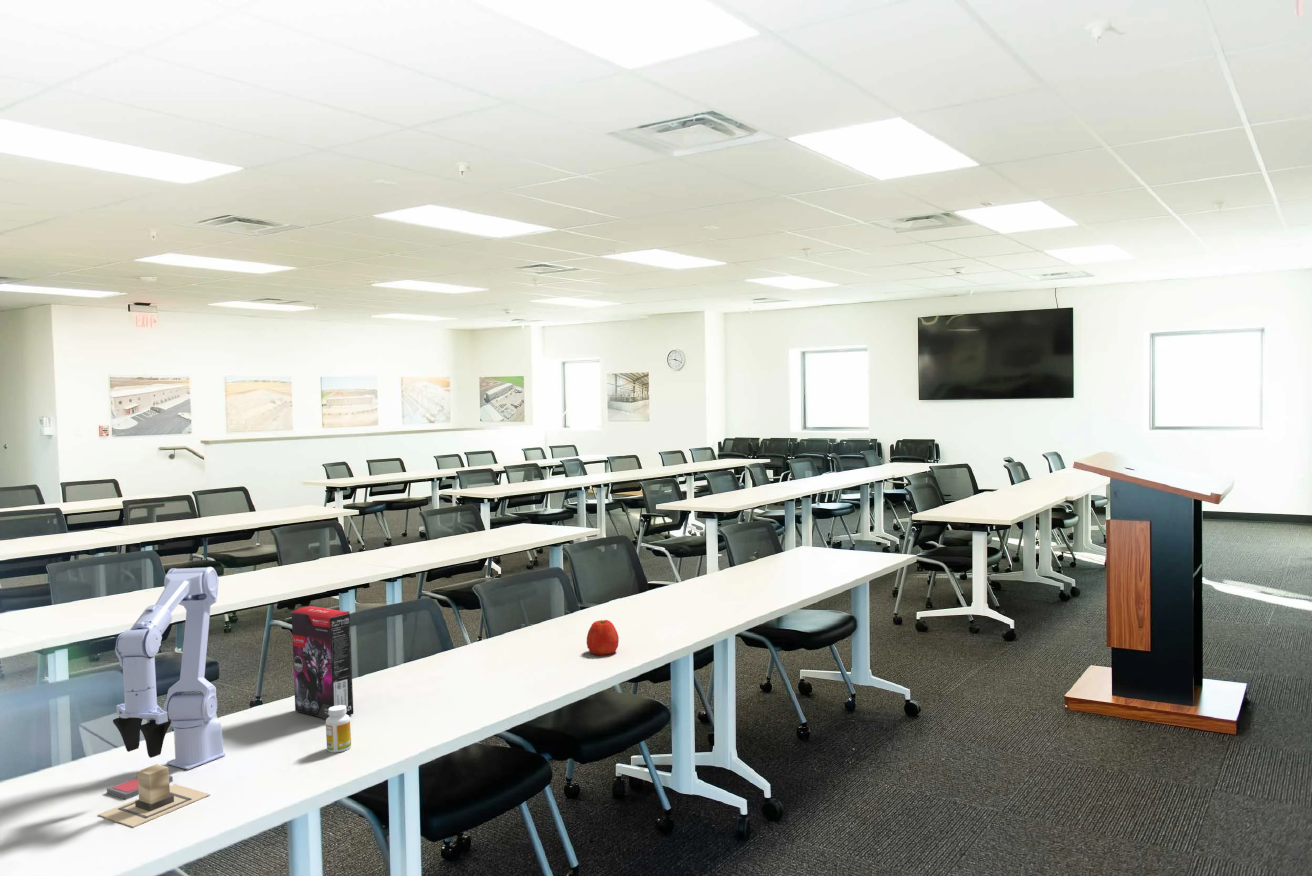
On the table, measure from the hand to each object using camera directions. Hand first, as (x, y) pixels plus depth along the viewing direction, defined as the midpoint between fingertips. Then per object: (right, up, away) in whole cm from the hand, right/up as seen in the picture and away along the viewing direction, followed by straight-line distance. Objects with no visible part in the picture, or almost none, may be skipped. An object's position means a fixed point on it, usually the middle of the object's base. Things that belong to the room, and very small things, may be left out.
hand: (143, 752), depth 185 cm
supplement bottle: (+31, -8, +26) cm, 41 cm away
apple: (+89, -4, +102) cm, 135 cm away
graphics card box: (+18, -8, +51) cm, 55 cm away
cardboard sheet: (+4, -10, -2) cm, 11 cm away
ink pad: (-5, -10, +7) cm, 13 cm away
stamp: (+4, -10, -2) cm, 11 cm away
